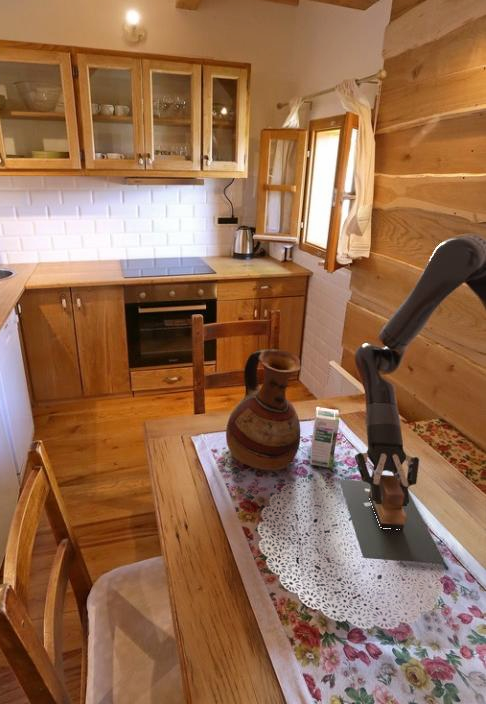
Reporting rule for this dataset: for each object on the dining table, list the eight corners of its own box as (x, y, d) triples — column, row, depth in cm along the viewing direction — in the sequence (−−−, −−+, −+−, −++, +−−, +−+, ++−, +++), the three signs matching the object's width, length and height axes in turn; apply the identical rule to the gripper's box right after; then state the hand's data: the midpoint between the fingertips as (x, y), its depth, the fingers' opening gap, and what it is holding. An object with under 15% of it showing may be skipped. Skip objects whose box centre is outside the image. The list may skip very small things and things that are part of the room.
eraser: (389, 499, 95) (395, 471, 92) (403, 530, 87) (410, 500, 84) (368, 497, 95) (374, 469, 93) (380, 528, 87) (386, 499, 84)
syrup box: (309, 464, 107) (316, 417, 102) (310, 451, 112) (316, 405, 107) (331, 469, 105) (339, 421, 100) (331, 454, 111) (338, 408, 106)
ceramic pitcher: (261, 490, 97) (271, 379, 87) (209, 447, 112) (213, 348, 102) (313, 458, 109) (327, 357, 99) (260, 423, 124) (267, 332, 113)
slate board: (403, 486, 100) (404, 484, 100) (445, 567, 80) (446, 564, 79) (338, 481, 101) (339, 479, 101) (362, 560, 80) (363, 557, 80)
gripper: (356, 420, 92) (362, 502, 85) (421, 424, 91) (432, 507, 84) (347, 426, 99) (352, 502, 91) (407, 430, 98) (417, 507, 91)
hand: (391, 504), depth 88 cm, fingers closed on eraser, 4 cm apart
